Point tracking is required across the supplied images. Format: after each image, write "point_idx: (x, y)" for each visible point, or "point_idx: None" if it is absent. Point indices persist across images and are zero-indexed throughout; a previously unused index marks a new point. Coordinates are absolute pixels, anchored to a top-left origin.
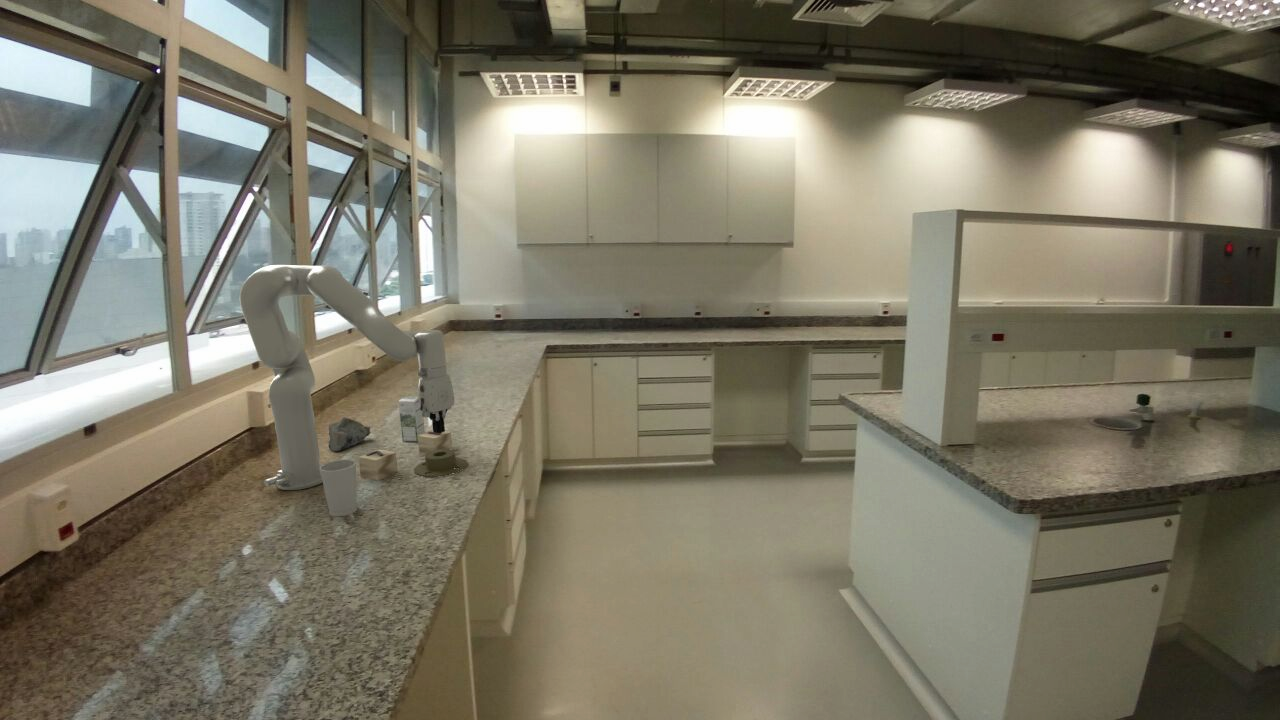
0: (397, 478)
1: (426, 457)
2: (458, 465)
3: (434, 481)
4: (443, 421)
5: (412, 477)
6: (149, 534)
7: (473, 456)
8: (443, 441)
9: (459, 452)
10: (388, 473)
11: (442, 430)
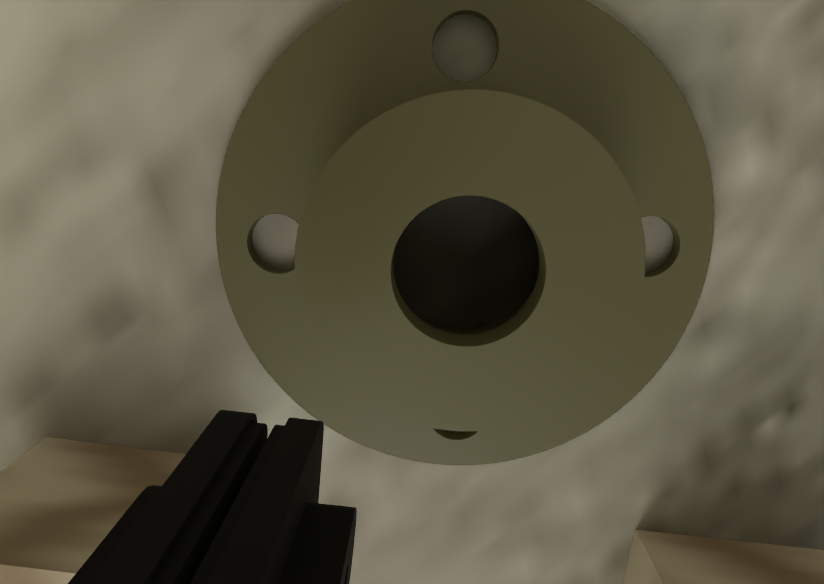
0: (776, 437)
1: (614, 346)
2: (397, 78)
3: (792, 67)
4: (141, 544)
5: (733, 334)
6: None
7: (103, 122)
8: (80, 515)
9: (77, 326)
10: (740, 551)
11: (260, 439)
